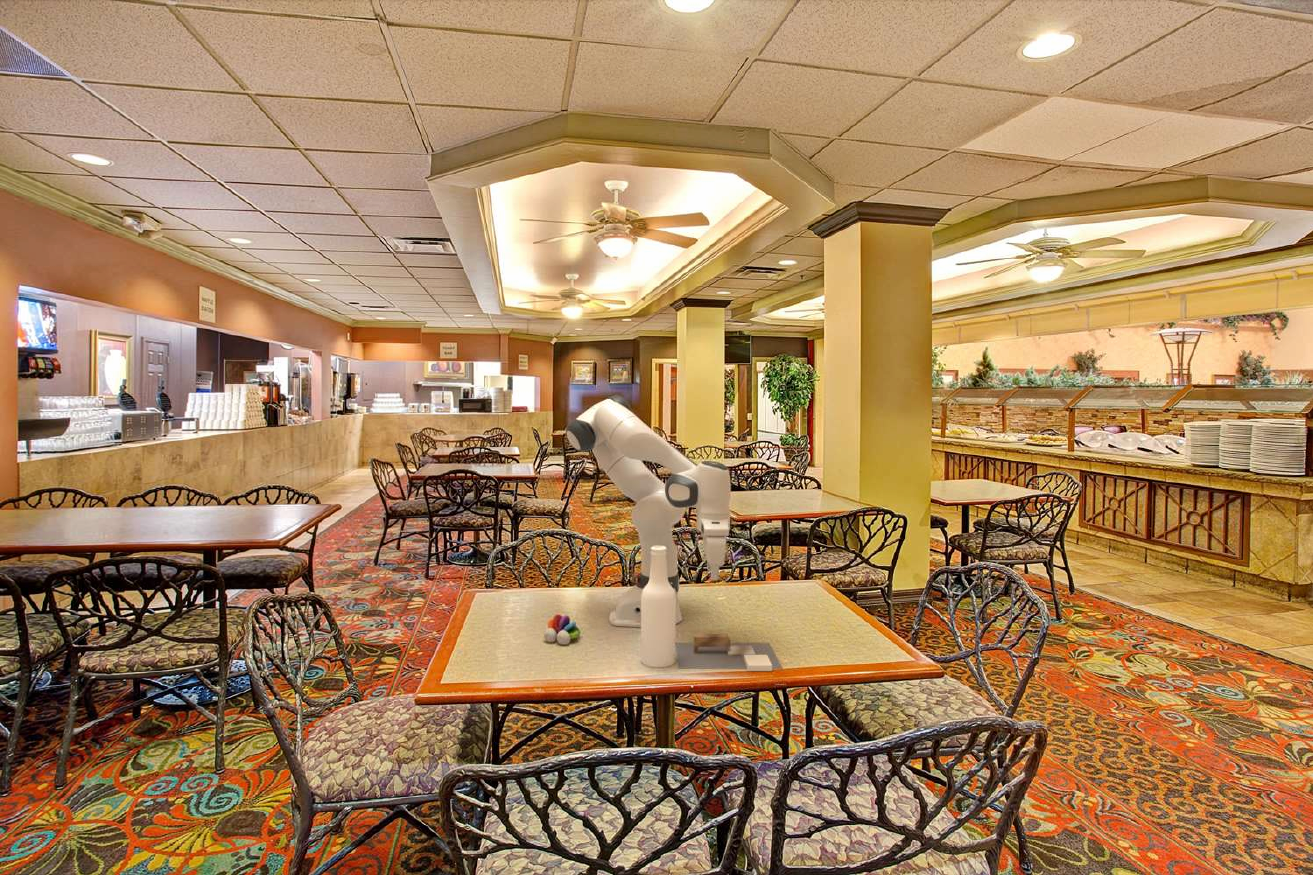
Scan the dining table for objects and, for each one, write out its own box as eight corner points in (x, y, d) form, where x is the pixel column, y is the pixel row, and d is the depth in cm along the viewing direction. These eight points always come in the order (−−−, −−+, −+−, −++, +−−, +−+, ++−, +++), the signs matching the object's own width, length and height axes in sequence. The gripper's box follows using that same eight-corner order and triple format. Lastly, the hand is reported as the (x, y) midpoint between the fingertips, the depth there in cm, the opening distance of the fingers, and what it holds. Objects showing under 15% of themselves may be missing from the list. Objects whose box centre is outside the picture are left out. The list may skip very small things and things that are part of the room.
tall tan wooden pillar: (694, 656, 171) (695, 639, 171) (693, 647, 177) (693, 631, 177) (755, 656, 171) (755, 639, 171) (751, 647, 177) (751, 631, 177)
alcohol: (668, 654, 173) (669, 542, 172) (680, 667, 165) (681, 549, 164) (636, 658, 171) (637, 544, 169) (646, 671, 162) (647, 551, 161)
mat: (678, 670, 163) (678, 668, 163) (675, 644, 181) (675, 642, 181) (782, 670, 163) (782, 668, 163) (769, 644, 181) (769, 642, 181)
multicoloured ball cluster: (557, 633, 190) (557, 608, 190) (585, 638, 186) (585, 613, 185) (539, 642, 183) (539, 616, 182) (568, 648, 178) (568, 621, 178)
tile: (743, 660, 168) (747, 671, 161) (743, 654, 168) (747, 665, 161) (766, 660, 169) (772, 671, 162) (766, 654, 168) (772, 665, 162)
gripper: (698, 516, 183) (697, 565, 184) (704, 530, 163) (703, 585, 164) (720, 516, 183) (719, 565, 184) (729, 530, 163) (729, 585, 164)
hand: (712, 574), depth 174 cm, fingers open, 8 cm apart
